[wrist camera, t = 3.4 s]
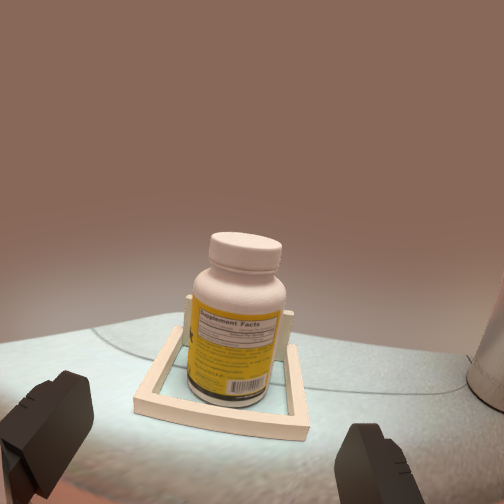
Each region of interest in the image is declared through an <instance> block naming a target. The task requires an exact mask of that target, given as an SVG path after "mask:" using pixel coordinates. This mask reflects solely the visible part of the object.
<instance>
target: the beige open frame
mask: <svg viewBox="0 0 504 504" xmlns="http://www.w3.org/2000/svg"><path fill="white" fill-rule="evenodd" d="M191 308H192V295H188V296H187V297H186V302H185V313H184V325H183V327H181V326H176V325H175V327H174V329H173V330H172V332H171V334H170V335H169V337H168V339H167V340H166V342H165V344H164V345H163V347H162V349H161V351H160V352H159V354H158V356H157V357H156V359H155V361H154V362H153V364H152V366H151V367H150V369H149V371H148V372H147V374H146V376H145V378H144V379H143V381H142V383H141V384H140V386H139V388H138V390H137V391H136V393H135V395H134V396H133V402H134V413H137V414H141V415H145V416H149V417H153V418H157V419H161V420H165V421H169V422H173V423H178V424H183V425H187V426H192V427H197V428H203V429H208V430H214V431H220V432H226V433H233V434H239V435H247V436H255V437H264V438H273V439H284V440H298V441H305V439H306V436H307V434H308V431H309V428H310V422H309V416H308V410H307V404H306V398H305V392H304V387H303V381H302V375H301V369H300V364H299V358H298V353H297V347H296V345H294V344H288V341H289V336H290V332H291V327H292V322H293V318H294V313H293V311H288V310H284V312H283V318H282V323H281V328H280V333H279V338H278V343H277V348H276V353H275V358H274V360H277V361H284V370H285V380H286V391H287V402H288V414H289V416H288V415H278V414H269V413H260V412H252V411H245V410H238V409H231V408H225V407H219V406H213V405H208V404H202V403H197V402H192V401H187V400H182V399H178V398H173V397H168V396H164V395H160V394H158V393H159V391H160V389H161V387H162V385H163V383H164V381H165V379H166V377H167V375H168V373H169V371H170V368H171V366H172V364H173V362H174V360H175V358H176V356H177V354H178V352H179V350H180V348H181V346H182V345H185V346H189V334H190V322H191Z"/></svg>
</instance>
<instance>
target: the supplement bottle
mask: <svg viewBox="0 0 504 504" xmlns="http://www.w3.org/2000/svg"><path fill="white" fill-rule="evenodd" d="M281 251H282V245H281V244H280V243H279V242H277V241H275V240H273V239H270V238H266V237H262V236H258V235H252V234H245V233H236V232H235V233H234V232H221V233H215V234H213V235H212V236H211V241H210V249H209V261H210V263H211V264H212V267H211V268H209V269H206V270H204V271H203V272H201V273H200V274H199V275H198V276H197V278H196V279H195V282H194V287H193V295H192V308H191V322H190V334H189V351H188V365H187V380H188V384H189V386H190V388H191V390H192V391H193V392H194V393H195V394H196V395H197V396H199V397H200V398H202V399H203V400H205V401H207V402H209V403H212V404H215V405H219V406H224V407H243V406H247V405H251V404H253V403H255V402H257V401H259V400H260V399H261V398H262V397H263V396H264V395H265V394H266V392H267V390H268V386H269V382H270V378H271V373H272V368H273V363H274V358H275V353H276V348H277V343H278V338H279V333H280V328H281V323H282V318H283V312H284V307H285V301H286V290H285V287H284V286H283V284H282V283H281V282H280V281H279V280H278V279H277V278H276V277H274V272H276V271H277V270H278V269H279V264H280V258H281Z"/></svg>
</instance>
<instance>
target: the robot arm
mask: <svg viewBox="0 0 504 504" xmlns="http://www.w3.org/2000/svg"><path fill="white" fill-rule="evenodd" d="M467 381H468V383H469V385H470V387H471V388H472V390H473V391H474V392H475V393H476V394H477V395H478V396H479V397H480V398H481V399H482V400H484V401H485V402H486V403H488V404H489V405H491V406H493V407H495V408H496V409H499V410H501V411H503V412H504V272H503V276H502V279H501V283H500V286H499V290H498V293H497V296H496V300H495V303H494V306H493V309H492V312H491V315H490V319H489V321H488V324H487V327H486V329H485V332H484V335H483V337H482V340H481V342H480V345H479V347H478V350H477V352H476V355H475V357H474V360H473V362H472V364H471V366H470V369H469V371H468V374H467ZM93 420H94V412H93V406H92V399H91V393H90V386H89V381H88V379H87V378H86V377H84V376H81V375H78V374H75V373H72V372H69V371H66V370H65V371H63V372H61V373H60V374H59V375H58V377H57V378H56V379H55V380H54V381H53V382H52V381H50V380H47V381H45V382H43V383H41V384H39V385H37V386H35V387H34V388H33V389H32V390H31V391H30V392H29V393H28V394H27V395H26V398H25V397H24V398H23V399H22V400H21V401H20V402H19V405H16V406H15V407H14V408H13V409H12V410H11V411H10V412H9V413H8V414H7V415H6V416H5V417H4V419H3V420H2V421H1V422H0V504H32V502H31V498H32V497H33V495H34V494H37V495H39V496H41V497H43V498H45V499H47V498H48V497H49V495H50V493H51V492H52V490H53V489H54V487H55V486H56V484H57V482H58V481H59V479H60V478H61V476H62V474H63V473H64V471H65V470H66V468H67V466H68V465H69V463H70V462H71V460H72V458H73V457H74V455H75V454H76V452H77V450H78V449H79V447H80V446H81V444H82V443H83V441H84V439H85V438H86V436H87V435H88V433H89V432H90V430H91V428H92V425H93ZM334 472H335V478H336V483H337V488H338V493H339V498H340V503H341V504H425V503H424V500H423V498H422V496H421V493H420V491H419V488H418V486H417V484H416V481H415V479H414V477H413V474H411V470H410V468H409V465H408V464H407V461H406V458H405V456H404V454H403V452H402V449H401V448H400V447H399V446H398V445H397V444H396V443H395V442H394V441H393V440H392V439H385V438H384V436H383V434H382V431H381V429H380V427H379V425H378V424H376V423H354V424H352V425H351V427H350V428H349V431H348V433H347V435H346V437H345V439H344V441H343V444H342V446H341V448H340V450H339V452H338V454H337V456H336V460H335V466H334Z"/></svg>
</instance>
